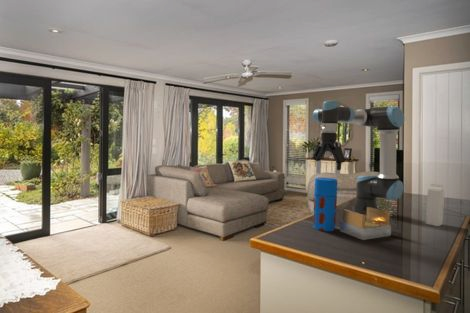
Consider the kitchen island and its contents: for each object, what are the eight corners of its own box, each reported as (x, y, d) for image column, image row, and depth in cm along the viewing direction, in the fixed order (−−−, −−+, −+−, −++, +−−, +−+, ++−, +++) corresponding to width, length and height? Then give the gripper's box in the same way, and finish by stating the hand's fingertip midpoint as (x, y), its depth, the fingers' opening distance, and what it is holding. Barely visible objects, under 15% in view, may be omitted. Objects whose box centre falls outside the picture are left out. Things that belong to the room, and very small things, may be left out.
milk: (437, 226, 167) (440, 185, 166) (425, 223, 172) (428, 184, 171) (442, 224, 171) (445, 184, 169) (430, 222, 176) (432, 183, 174)
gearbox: (340, 231, 153) (341, 209, 152) (366, 227, 161) (367, 206, 160) (362, 240, 140) (364, 215, 140) (390, 235, 148) (392, 212, 147)
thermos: (331, 232, 150) (334, 181, 149) (310, 228, 156) (312, 179, 154) (337, 227, 159) (339, 178, 158) (316, 224, 165) (318, 177, 163)
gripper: (307, 132, 164) (305, 172, 165) (342, 131, 142) (339, 178, 143) (318, 132, 167) (316, 172, 169) (354, 132, 145) (352, 178, 146)
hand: (327, 175), depth 156 cm, fingers open, 13 cm apart
